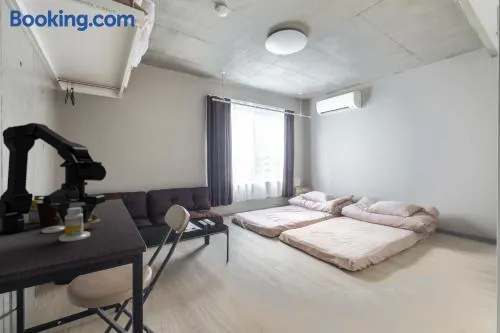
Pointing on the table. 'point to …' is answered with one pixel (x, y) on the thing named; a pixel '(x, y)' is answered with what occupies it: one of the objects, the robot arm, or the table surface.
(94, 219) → the balance
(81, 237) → the dish low
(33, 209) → the crayon box
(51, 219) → the coffee mug
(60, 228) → the dish high
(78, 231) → the supplement bottle
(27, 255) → the table surface
